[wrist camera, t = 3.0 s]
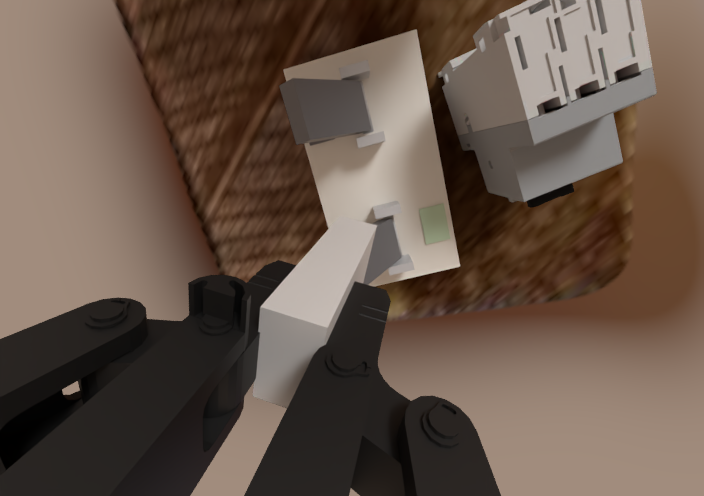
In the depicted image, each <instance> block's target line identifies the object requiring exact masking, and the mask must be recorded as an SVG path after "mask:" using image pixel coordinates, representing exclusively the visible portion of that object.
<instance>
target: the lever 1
mask: <svg viewBox="0 0 704 496" xmlns="http://www.w3.org/2000/svg"><path fill="white" fill-rule="evenodd" d="M279 87H280V91H281V94H282V97H283V101H284V104H285V108H286V111H287V114H288V118H289V121H290V125H291V128H292V132H293V135H294V138H295V142H296V145H299V144H305V143H310V142H316V141H322V140H328V139H333V138H339V137H345V136H350V135H356V134H360V133H363V134H366V133H370V132H373V131H374V129H373V125H372V121H371V116H370V112H369V108H368V103H367V99H366V95H365V90H364V86H363V82H362V81H351V80H326V79H302V78H292V79H290V80H288V81H287V82H285V83H283V84H281V85H279Z"/></svg>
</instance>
